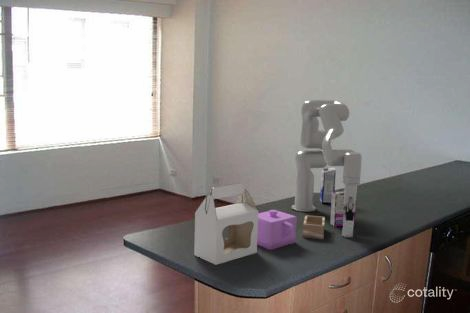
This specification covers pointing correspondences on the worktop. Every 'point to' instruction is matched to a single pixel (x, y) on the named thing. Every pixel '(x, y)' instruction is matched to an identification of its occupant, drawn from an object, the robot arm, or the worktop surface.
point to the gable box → (216, 219)
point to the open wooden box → (313, 227)
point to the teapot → (275, 229)
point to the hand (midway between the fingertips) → (349, 217)
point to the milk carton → (327, 184)
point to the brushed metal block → (347, 227)
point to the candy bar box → (339, 209)
